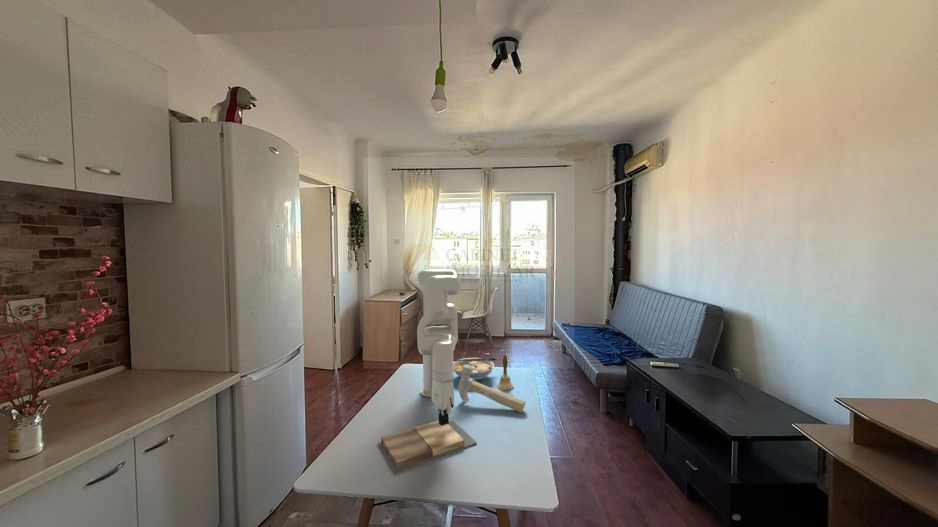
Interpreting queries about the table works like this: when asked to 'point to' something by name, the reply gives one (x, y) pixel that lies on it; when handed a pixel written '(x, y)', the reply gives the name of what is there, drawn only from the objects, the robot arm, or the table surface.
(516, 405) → the hammer
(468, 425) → the table surface
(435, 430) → the oak plank
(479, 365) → the ramen bowl
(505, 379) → the hand bell
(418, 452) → the floor section
